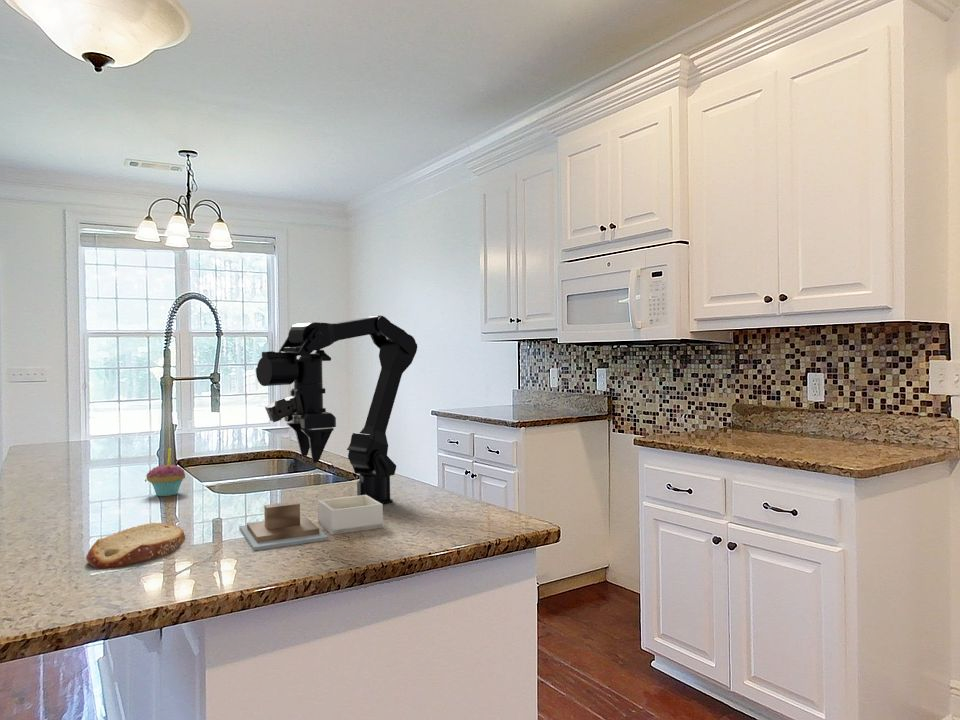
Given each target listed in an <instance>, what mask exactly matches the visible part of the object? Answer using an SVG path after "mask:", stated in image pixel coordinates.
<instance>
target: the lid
mask: <svg viewBox="0 0 960 720" xmlns="http://www.w3.org/2000/svg"><path fill="white" fill-rule="evenodd" d="M263 511H264V512H263V513H264V520H262V521H260V520H259V521H254V522H246V525H247V529H248V530H249V532H250V533H251V535H252V536H253V537H254V539H255V540H256V542H257V543H258V542H266V541H273V540H280V539H287V538H294V537H302V536H309V535H316V534H319V529H320V528H319V527H318V525H316V524H315V523H313V522H312V521H311V519H309V518H308V517H307V516H306V515H301V503H300V502H298V501H289V502H279V503H270V504H264V510H263Z"/></svg>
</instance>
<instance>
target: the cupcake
mask: <svg viewBox="0 0 960 720" xmlns="http://www.w3.org/2000/svg"><path fill="white" fill-rule="evenodd" d="M171 446H172V445H169V448H168V450H167V464H163V465H158V466H155V467H154V468H153V467H152V469H150V470H149V471H148V472H147V473H146V476H145V477H146V481H147V482H148V483H151V485H152V487H153V490H154V493H155V495H156V496H158V497H169V496H170V497H171V496H174V495H177V494H179V490H180V487H181V485H182V482H183V480H184V479H186V473H185V470H184V469H183V468H182V467H181V466H179V465H176V464H171V460H172V459H171V457H172V447H171Z"/></svg>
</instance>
